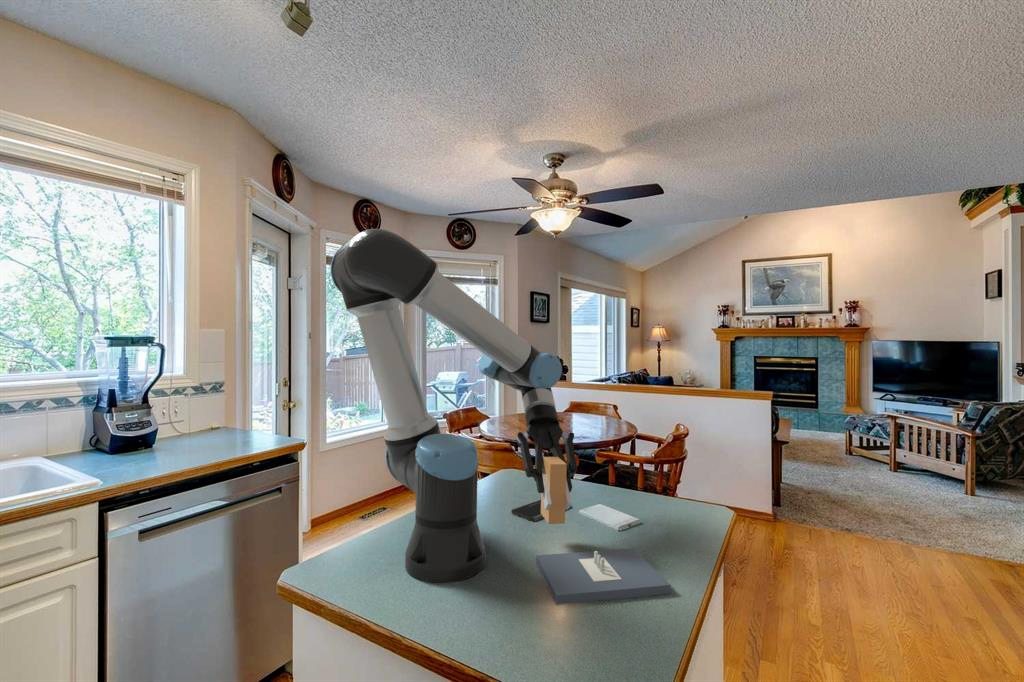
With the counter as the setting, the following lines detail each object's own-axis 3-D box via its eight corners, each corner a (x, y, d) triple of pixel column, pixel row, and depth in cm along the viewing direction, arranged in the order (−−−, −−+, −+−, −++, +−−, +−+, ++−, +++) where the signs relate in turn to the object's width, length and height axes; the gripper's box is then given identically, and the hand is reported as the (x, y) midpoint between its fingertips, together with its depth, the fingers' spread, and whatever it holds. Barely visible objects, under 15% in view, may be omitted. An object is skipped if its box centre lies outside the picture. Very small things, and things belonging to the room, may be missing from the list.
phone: (572, 504, 117) (532, 519, 107) (572, 508, 117) (532, 523, 107) (549, 496, 123) (509, 510, 112) (549, 500, 123) (509, 514, 112)
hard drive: (578, 510, 112) (618, 526, 102) (600, 503, 117) (640, 518, 107) (578, 516, 112) (618, 533, 102) (600, 509, 117) (640, 525, 107)
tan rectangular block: (548, 524, 91) (550, 464, 92) (540, 512, 98) (542, 456, 98) (564, 523, 92) (566, 464, 92) (555, 512, 98) (557, 456, 98)
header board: (556, 604, 73) (556, 579, 73) (535, 563, 87) (536, 541, 87) (670, 593, 77) (670, 569, 77) (633, 555, 91) (633, 535, 91)
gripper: (569, 421, 112) (592, 513, 95) (504, 421, 109) (515, 516, 92) (577, 403, 107) (602, 496, 90) (508, 402, 104) (521, 498, 87)
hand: (558, 506), depth 91 cm, fingers closed on tan rectangular block, 3 cm apart
